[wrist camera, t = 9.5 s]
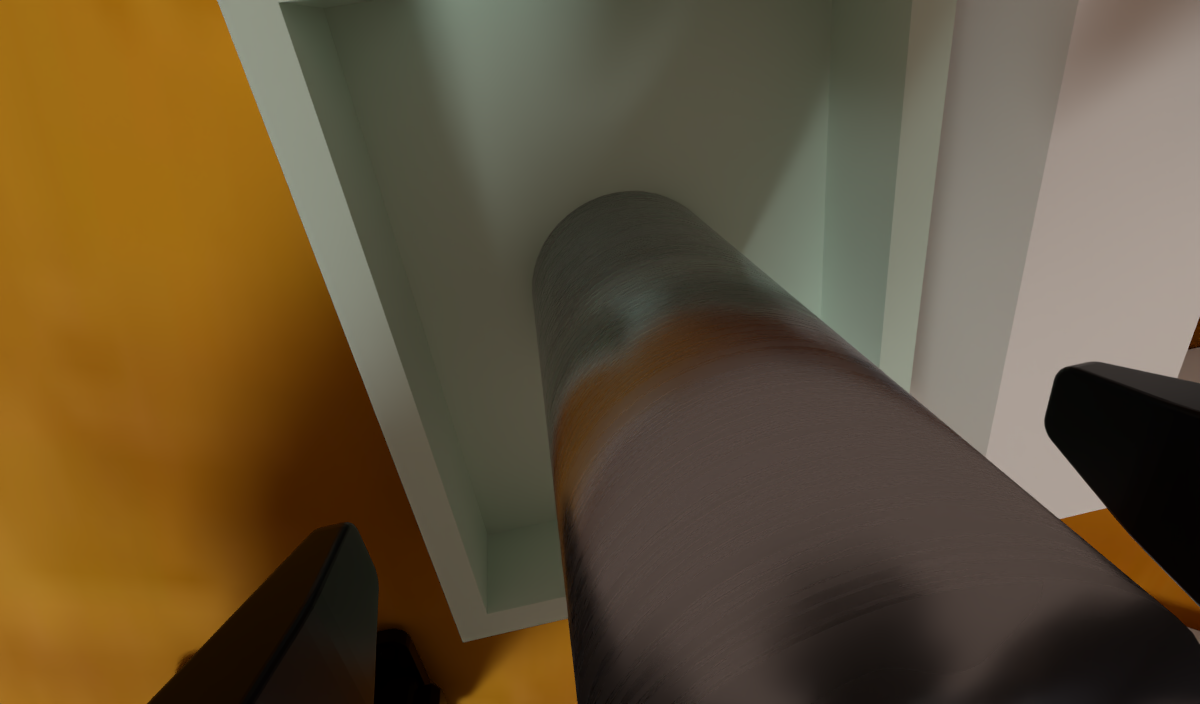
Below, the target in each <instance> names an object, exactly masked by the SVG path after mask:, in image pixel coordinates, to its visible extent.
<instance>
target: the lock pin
mask: <svg viewBox="0 0 1200 704" xmlns="http://www.w3.org/2000/svg"><path fill="white" fill-rule="evenodd" d="M532 298H533V307H534V316H535V325H536V334H537V343H538V352H539V361H540V370H541V379H542V388H543V397H544V406H545V415H546V424H547V432H548V441H549V450H550V459H551V468H552V477H553V486H554V495H555V504H556V513H557V522H558V531H559V540H560V549H561V558H562V567H563V576H564V585H565V594H566V603H567V612H568V621H569V630H570V639H571V648H572V656H573V665H574V674H575V683H576V692H577V701H578V704H1200V644H1199V642H1198V640H1197V639H1196V637H1195V635H1194V634H1193V632H1192V631H1190V630H1189V629H1188V628H1187V627H1186V626H1185V625H1184V624H1183V623H1182V622H1181V621H1180V620H1179V619H1178V618H1177V617H1176V616H1175V615H1173V614H1172V613H1171V612H1170V611H1169V610H1167V609H1166V608H1165V607H1164V606H1163V605H1161V604H1160V603H1159V602H1158V601H1157V600H1155V599H1154V598H1153V597H1152V596H1151V595H1149V594H1148V593H1147V592H1146V591H1145V590H1144V589H1142V588H1141V587H1140V586H1139V585H1138V584H1136V583H1135V582H1134V581H1133V580H1132V579H1130V578H1129V577H1128V576H1127V575H1126V574H1124V573H1123V572H1122V571H1121V570H1120V569H1118V568H1117V567H1116V566H1115V565H1114V564H1112V563H1111V562H1110V561H1109V560H1108V559H1106V558H1105V557H1104V556H1103V555H1102V554H1100V553H1099V552H1098V551H1097V550H1096V549H1094V548H1093V547H1092V546H1091V545H1090V544H1088V543H1087V542H1086V541H1085V540H1084V539H1083V538H1081V537H1080V536H1079V535H1078V534H1077V533H1075V532H1074V531H1073V530H1072V529H1071V528H1069V527H1068V526H1067V525H1066V524H1065V523H1063V522H1062V521H1061V520H1060V519H1059V518H1057V517H1056V516H1055V515H1054V514H1053V513H1051V512H1050V511H1049V510H1048V509H1047V508H1045V507H1044V506H1043V505H1042V504H1041V503H1039V502H1038V501H1037V500H1036V499H1035V498H1033V497H1032V496H1031V495H1030V494H1029V493H1028V492H1026V491H1025V490H1024V489H1023V488H1022V487H1020V486H1019V485H1018V484H1017V483H1016V482H1014V481H1013V480H1012V479H1011V478H1010V477H1008V476H1007V475H1006V474H1005V473H1004V472H1002V471H1001V470H1000V469H999V468H998V467H996V466H995V465H994V464H993V463H992V462H990V461H989V460H988V459H987V458H986V457H984V456H983V455H982V454H981V453H980V452H978V451H977V450H976V449H975V448H974V447H973V446H971V445H970V444H969V443H968V442H967V441H965V440H964V439H963V438H962V437H961V436H959V435H958V434H957V433H956V432H955V431H953V430H952V429H951V428H950V427H949V426H947V425H946V424H945V423H944V422H943V421H941V420H940V419H939V418H938V417H937V416H935V415H934V414H933V413H932V412H931V411H929V410H928V409H927V408H926V407H925V406H923V405H922V404H921V403H920V402H919V401H917V400H916V399H915V398H914V397H913V396H912V395H910V394H909V393H908V392H907V391H906V390H904V389H903V388H902V387H901V386H900V385H898V384H897V383H896V382H895V381H894V380H892V379H891V378H890V377H889V376H888V375H886V374H885V373H884V372H883V371H882V370H880V369H879V368H878V367H877V366H876V365H874V364H873V363H872V362H871V361H870V360H868V359H867V358H866V357H865V356H864V355H862V354H861V353H860V352H859V351H858V350H857V349H855V348H854V347H853V346H852V345H851V344H849V343H848V342H847V341H846V340H845V339H843V338H842V337H841V336H840V335H839V334H837V333H836V332H835V331H834V330H833V329H831V328H830V327H829V326H828V325H827V324H825V323H824V322H823V321H822V320H821V319H819V318H818V317H817V316H816V315H815V314H813V313H812V312H811V311H810V310H809V309H807V308H806V307H805V306H804V305H803V304H802V303H800V302H799V301H798V300H797V299H796V298H794V297H793V296H792V295H791V294H790V293H788V292H787V291H786V290H785V289H784V288H782V287H781V286H780V285H779V284H778V283H776V282H775V281H774V280H773V279H772V278H770V277H769V276H768V275H767V274H766V273H764V272H763V271H762V270H761V269H760V268H758V267H757V266H756V265H755V264H754V263H752V262H751V261H750V260H749V259H748V258H746V257H745V256H744V255H743V254H742V253H741V252H739V251H738V250H737V249H736V248H735V247H733V246H732V245H731V244H730V243H729V242H727V241H726V240H725V239H724V238H723V237H721V236H720V235H719V234H718V233H717V232H715V231H714V230H713V229H712V228H711V227H709V226H708V225H707V224H706V223H705V222H703V221H702V220H701V219H700V218H699V217H697V216H696V215H695V214H694V213H693V212H691V211H690V210H689V209H688V208H686V207H685V206H683V205H682V204H680V203H678V202H676V201H674V200H672V199H670V198H668V197H665V196H662V195H659V194H655V193H649V192H643V191H625V192H616V193H612V194H607V195H603V196H601V197H598V198H595V199H593V200H590V201H588V202H587V203H585V204H583V205H581V206H579V207H578V208H576V209H575V210H574V211H572V212H571V213H570V214H568V215H567V216H566V217H565V218H564V219H563V220H562V221H561V222H560V223H559V224H558V225H557V226H556V227H555V228H554V230H553V231H552V232H551V233H550V234H549V236H548V238H547V239H546V241H545V243H544V244H543V246H542V248H541V250H540V253H539V255H538V257H537V261H536V264H535V268H534V272H533V279H532Z"/></svg>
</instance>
